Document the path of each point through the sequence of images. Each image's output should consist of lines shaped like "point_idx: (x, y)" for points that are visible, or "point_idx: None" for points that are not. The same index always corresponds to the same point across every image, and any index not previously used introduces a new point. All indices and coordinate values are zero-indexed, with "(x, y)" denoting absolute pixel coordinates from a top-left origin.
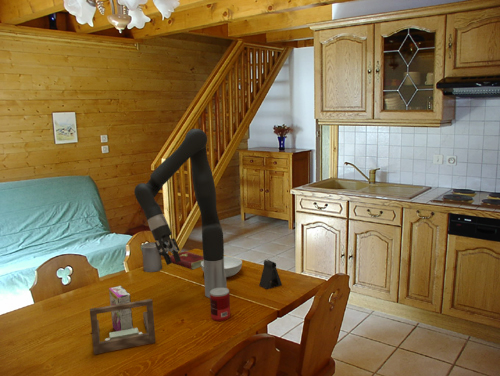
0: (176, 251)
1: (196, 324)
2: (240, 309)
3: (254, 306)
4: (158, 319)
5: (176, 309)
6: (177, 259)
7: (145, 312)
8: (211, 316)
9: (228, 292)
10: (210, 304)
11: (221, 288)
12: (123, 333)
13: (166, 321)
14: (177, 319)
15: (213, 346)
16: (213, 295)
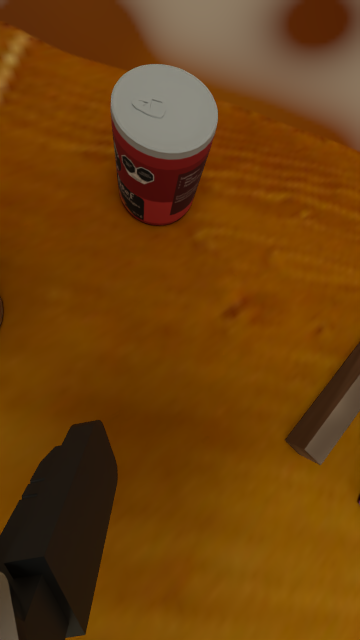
0: (16, 618)
1: (239, 247)
2: (69, 153)
3: (24, 115)
4: (267, 403)
5: (163, 393)
6: (100, 474)
7: (317, 452)
8: (185, 212)
9: (155, 67)
10: (188, 188)
11: (122, 114)
12: None
13: (266, 362)
14: (236, 333)
15: (325, 141)
16: (216, 123)
